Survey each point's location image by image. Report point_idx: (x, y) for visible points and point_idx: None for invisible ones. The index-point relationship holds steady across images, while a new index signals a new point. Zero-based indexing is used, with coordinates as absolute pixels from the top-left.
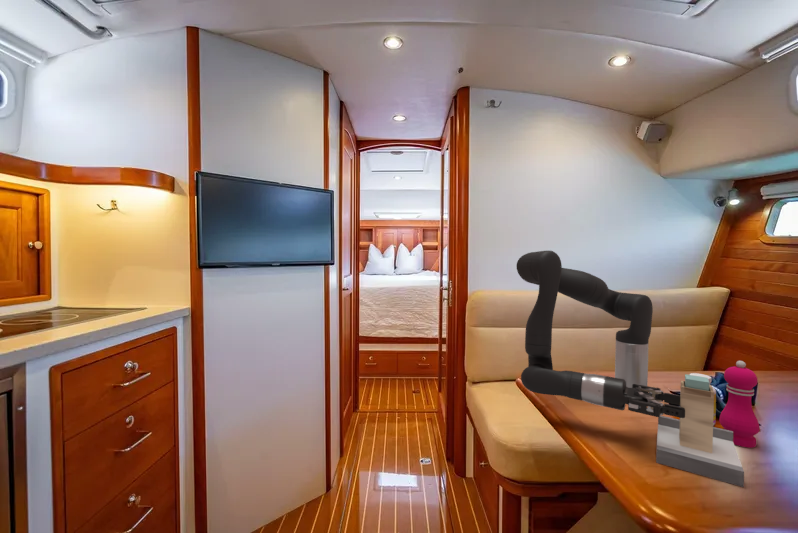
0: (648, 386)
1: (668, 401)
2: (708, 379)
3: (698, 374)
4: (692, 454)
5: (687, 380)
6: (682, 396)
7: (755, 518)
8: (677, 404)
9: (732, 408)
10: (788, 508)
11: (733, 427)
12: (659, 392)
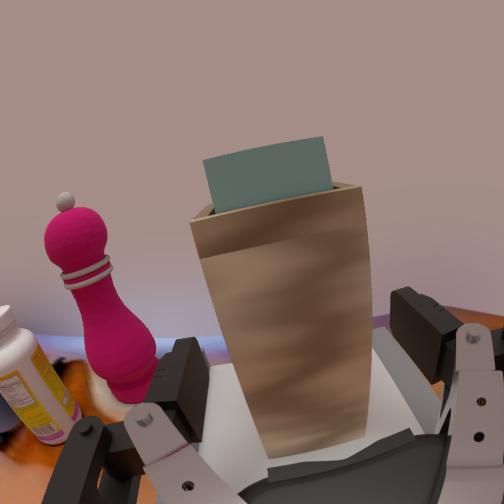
0: (53, 475)
1: (201, 417)
2: (10, 309)
3: None
4: (404, 394)
5: (321, 147)
6: (367, 246)
7: (464, 318)
8: (207, 389)
9: (114, 320)
10: (389, 315)
11: (146, 357)
12: (173, 425)
